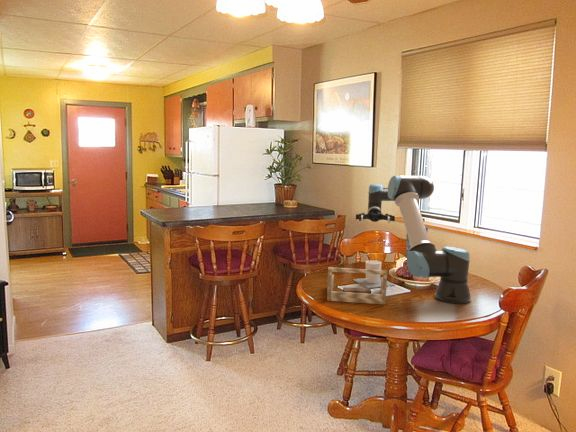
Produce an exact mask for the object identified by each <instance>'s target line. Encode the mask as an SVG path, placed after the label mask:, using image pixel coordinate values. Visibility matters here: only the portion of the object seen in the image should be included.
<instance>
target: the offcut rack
mask: <svg viewBox="0 0 576 432" xmlns="http://www.w3.org/2000/svg"><path fill="white" fill-rule="evenodd" d="M333 272H334V273H335V272H336V273H348V274H349V273H351V274H365V275H366V274H380V278H381V287H380V293H379V294H378V293H371V294H367V293H352V292H339V291H335V290H334V285H335V284H334V283H335V281H334V280H335V274H333ZM381 275H382V277H381ZM387 281H388V270H385V269H384V270H383V269H381V270H370V269H366V268H365V269H364V268H354V267H353V268H351V267H350V268H348V267H332V266H331V267H330V266H328V268H327V290H326V292H327V294H326V295H327V296H326V301H329V302H331V301H332V302H345V303H346V302H347V303H358V304H359V303H361V304H371V305H372V304H373V305H377V304H378V305H386V300H387V287H386V285H387Z"/></svg>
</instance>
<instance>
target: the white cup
mask: <svg viewBox="0 0 576 432" xmlns="http://www.w3.org/2000/svg"><path fill="white" fill-rule="evenodd" d="M382 263H383V262H382V261H380V260H376V259H375V260H374V259H370V260H365V269H370V270H382ZM365 278H366V282H368V283H379V282H380V278H381V274H365Z"/></svg>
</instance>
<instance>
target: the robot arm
mask: <svg viewBox="0 0 576 432" xmlns="http://www.w3.org/2000/svg"><path fill="white" fill-rule="evenodd" d="M387 184H388V185H387V187H383V185H382V184H378V183H377V184H376V183H374V184H372V183H371V184H370V185H369V187H368V203H367V213H366V212H361V213H357V214H355V220H358V222H361V223H363V221H364V220H370V221H371V222H374V223H376V222H379V221H383V220H384V221H387V224H390V223H391V222H395V219H396V216H395V215H392V214H388V213H382V202H394V204H395V206H397V207H399V209H400V213H401V216H402V220H403V223H404V227H405V230H406V236H407V235H408V238H409V241H410V245H411V248H410V250H409V253H408V255H407V266H408V269H409V271H410V273H409V274H411V275H412V276H413V277H415V278H422V279H426V278H437V277H438V278H440V280H439V282H438V285H437V287H436V290H435V293H434V297H435V298H436V299H437V300H439V301H441V302H444V303H449V304H459V305H460V304H468V303H470V302H471V297H472V296H471V292H470V289H469V288H470V287H469V285H468V280H469V270H470V269H469V268H470V262H471V260H470V253H469V251H468V250H466V249H463V248H459V247H454V246H442V248H441V250H437V248H436V245H435V244H434V243H432V242H431V241H430V238H429V235H428V232H427V231H426V228H425V227H426V226H425V222H424V219H423V216H422V212H421V210H420V207H419V203H418V201H419V200H423V199H426V198H429V197H430V196H432V195H433V192H434V190H435V185H434V182H433V181H432V180H431V179H430V178H429V177H427V176H424V175H401V174H399V175H392V176H391V177H390V179H389V182H388V183H387Z"/></svg>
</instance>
